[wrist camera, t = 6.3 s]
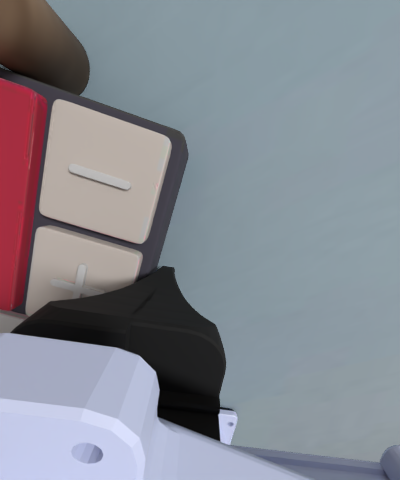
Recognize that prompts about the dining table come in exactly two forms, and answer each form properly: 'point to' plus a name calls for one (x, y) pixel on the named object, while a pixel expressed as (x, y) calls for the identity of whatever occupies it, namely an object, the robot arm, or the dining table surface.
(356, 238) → the dining table surface
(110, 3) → the dining table surface
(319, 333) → the dining table surface
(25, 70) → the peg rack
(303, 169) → the dining table surface
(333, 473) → the robot arm
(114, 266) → the calculator
